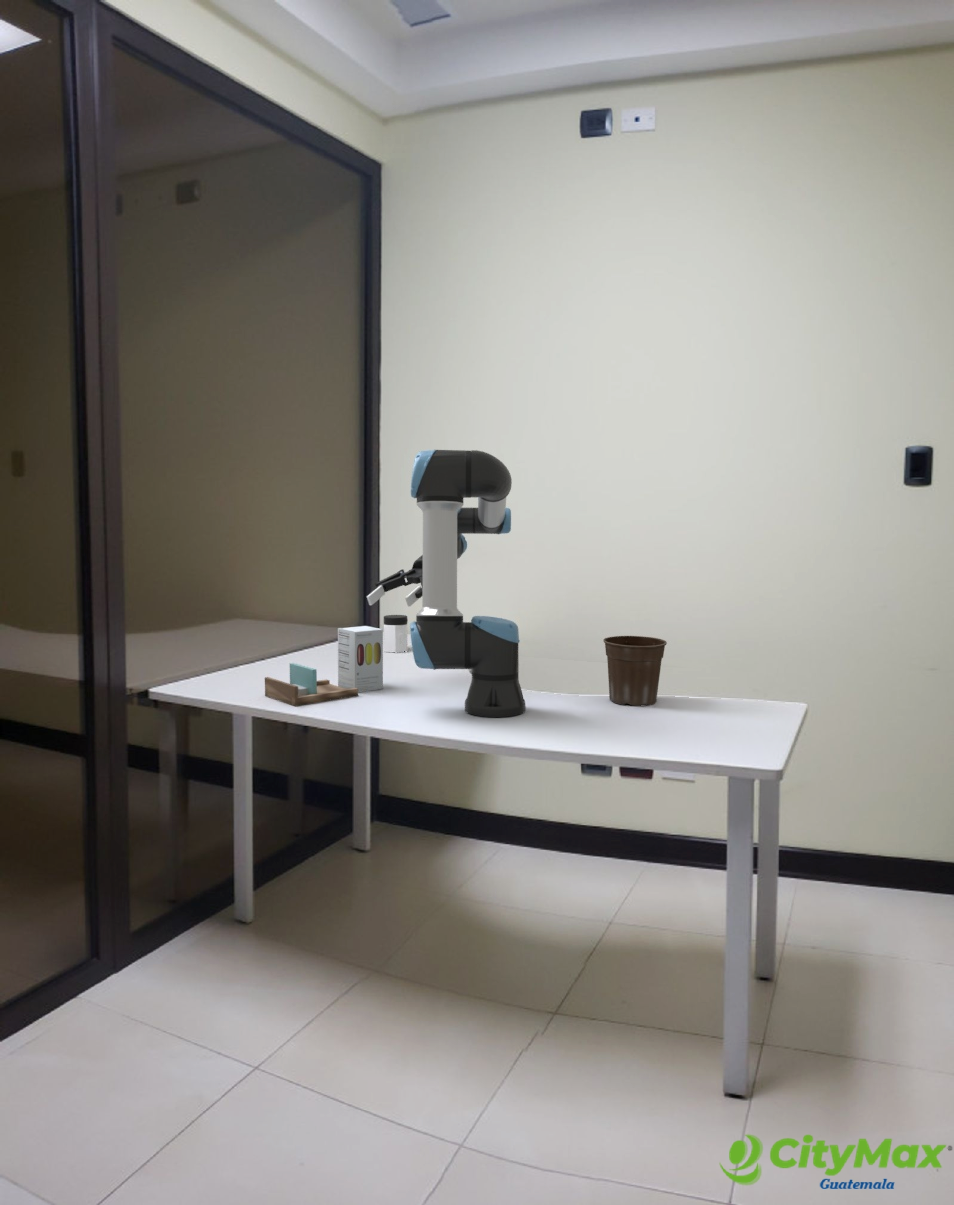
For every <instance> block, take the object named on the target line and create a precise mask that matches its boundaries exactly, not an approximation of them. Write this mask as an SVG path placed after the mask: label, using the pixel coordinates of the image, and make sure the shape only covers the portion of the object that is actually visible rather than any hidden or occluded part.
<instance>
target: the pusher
mask: <svg viewBox="0 0 954 1205" xmlns="http://www.w3.org/2000/svg"><path fill="white" fill-rule="evenodd" d="M317 671H318V670H317V669H316V668H313V667H309V666H305V665H302V664H298V663H294V662H290V663H289V684H292V685H295V686H298V696H304V695H312V694H317V681H318V680H317V678H318V677H317Z"/></svg>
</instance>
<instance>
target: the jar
mask: <svg viewBox="0 0 954 1205" xmlns="http://www.w3.org/2000/svg"><path fill="white" fill-rule="evenodd" d="M403 651H407V652H408V616H407V615H404V614H387V615H384V616H383V653H389V652H402V653H404V652H403Z"/></svg>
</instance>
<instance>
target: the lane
mask: <svg viewBox="0 0 954 1205" xmlns="http://www.w3.org/2000/svg"><path fill="white" fill-rule="evenodd" d="M264 696H265V697H267V696H268V697H267V698H270V699H274V700H276V701H278V700H279V702H282V703H284V704H288V705H291V706H293V707H298V706H306V705H311V704H318V703H323V702H329V701H330V702H331V701H335V700H343V699H348V698H354V697H359V692H358V688H350V689H345V688H342V687H339V686H338V685H334V684H331V683H330V680H329V679H321V680H317V694H312V695H304V696H298V686H295V685H292V684H290V682H289V683H288V682H285V681H283V680H279V679H275V678H273V677H270V676H266V677H264Z"/></svg>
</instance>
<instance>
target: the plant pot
mask: <svg viewBox="0 0 954 1205" xmlns="http://www.w3.org/2000/svg"><path fill="white" fill-rule="evenodd" d="M667 642H668V641H667V640H664V639H661V638H659V637H652V636H643V635H642V636H641V635H640V636H639V635H614V636H608V637H605V638H604V639H603V643H604V648H605V656H606V657H607V658H606V659H607V661H606V662H607V674H608V676H607V677H608V690H609V691H608V692H609V694H608V695H609V696H608V697H609V701H611V702H612V703H614V704H618V705H623V706H625V705H627V704H628V705H630V706H634V707H635V706H637V707H638V706H639V707H642V706H641V705H646V706H650V704H651V705H654V704H655V703H656V702H657V700H658V691H659V690H658V689H659V681H660V676H661V675H660V674H661V667H662V660H663V658H664V656H665V655H664V653H665V649H666V648H665V647H666V645H667V644H668V643H667ZM653 703H654V704H653Z"/></svg>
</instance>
